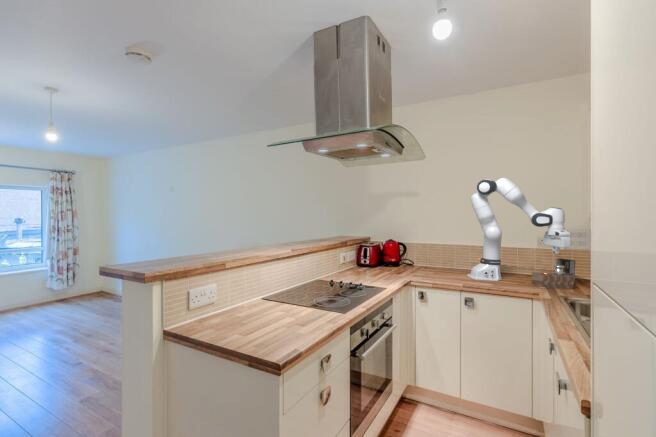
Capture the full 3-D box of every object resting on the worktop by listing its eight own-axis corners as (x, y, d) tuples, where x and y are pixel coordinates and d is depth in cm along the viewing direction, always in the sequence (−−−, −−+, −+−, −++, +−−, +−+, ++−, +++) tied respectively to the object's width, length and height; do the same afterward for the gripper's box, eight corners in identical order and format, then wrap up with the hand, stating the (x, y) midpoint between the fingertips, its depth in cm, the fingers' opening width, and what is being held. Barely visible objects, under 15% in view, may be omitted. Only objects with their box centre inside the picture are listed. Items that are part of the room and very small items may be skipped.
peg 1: (544, 287, 200) (544, 273, 200) (538, 284, 206) (539, 271, 205) (552, 287, 200) (553, 273, 200) (547, 285, 206) (547, 271, 205)
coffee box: (574, 283, 211) (576, 260, 211) (569, 284, 209) (570, 261, 208) (560, 280, 220) (561, 258, 219) (554, 281, 217) (556, 258, 216)
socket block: (541, 288, 198) (541, 275, 198) (531, 284, 208) (532, 272, 208) (573, 289, 198) (573, 276, 197) (561, 284, 208) (562, 273, 207)
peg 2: (557, 280, 200) (557, 266, 199) (551, 278, 205) (551, 264, 205) (565, 280, 200) (566, 266, 199) (559, 278, 205) (560, 264, 205)
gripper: (540, 230, 211) (540, 251, 212) (562, 233, 191) (561, 255, 191) (550, 230, 211) (549, 251, 211) (572, 233, 190) (572, 255, 191)
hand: (555, 253), depth 201 cm, fingers closed
